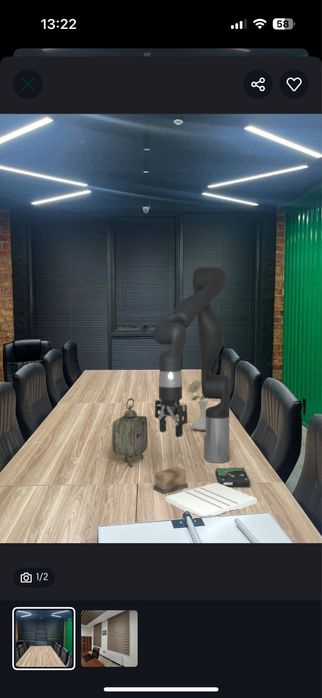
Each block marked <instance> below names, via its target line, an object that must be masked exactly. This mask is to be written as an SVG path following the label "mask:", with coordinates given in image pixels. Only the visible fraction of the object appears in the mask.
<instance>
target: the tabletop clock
mask: <svg viewBox="0 0 322 698" xmlns="http://www.w3.org/2000/svg"><path fill="white" fill-rule="evenodd" d="M130 401H132V405H128V403H129V402H130ZM125 403H126V404H125V407H126V409H127V410H125V412H124V413H123V416H121V417H119V418H118V419H116V420H114V421H113V422H112V425H111V428H112V429H111V439H112V440H111V441H112V443H111V445H112V446H111V447H112V452H113V453H114V454H115V455H118V456H123V457H124V456H125V457H124V458H123V459H122V460H123V462H124V463H126V462H129V463H128V466H129V467H131V468H132V467H133V466H134V462H132V457H134V458H135V457H139V458H140V460H143V459H144V458H145V455H143V454H144V453H145V451H146V450H147V448H148V432H149V431H148V417H147V416H144V415H137V412H136V411H135V410H134V409H133V408H134V405H135V400H134V398H132V397H130V398H128V399H126V402H125Z"/></svg>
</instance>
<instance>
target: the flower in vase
mask: <svg viewBox="0 0 322 698" xmlns="http://www.w3.org/2000/svg"><path fill="white" fill-rule="evenodd" d="M200 388H201V380H199V379H196V380H195V379H194V380H193V381H192V382H191V383H190V384H189V386H188V388H187V390H188V393H191V394H194V393H196V392H197V395H194V396H193V397H192V398H191V400H192V401H197V400H198V399H199V401H197V403H198V405H199V409H200V416H199V417H198V418H197V419H195V421H194V422H193V423H192V424H191V428H192V429H193V430H195V429H196V430H197V431H202V430H203V431H206V406H207V404H208V403H209V401H205V399H206V398H204V397H203V395H202V396H200V393H199V389H200ZM196 430H195V431H196Z"/></svg>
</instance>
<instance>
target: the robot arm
mask: <svg viewBox="0 0 322 698" xmlns="http://www.w3.org/2000/svg"><path fill="white" fill-rule="evenodd" d="M226 275H227V274H226V272H225V270H224V269H223V268H220V267H211V266H210V267H207V266H205V267H204V266H203V267H202V266H201V267H200V266H198V267H197V268H195V269H194V271H193V274H192V288H193V294H190V295H189V296H187V297H186V298H184V299H183V300H182V301H180V302H179V304H178V305H177V306H176V307H175V309H174V310H173V311H172V313H169V314H167V316H165V317H164V318H162V319H161V320H160V321H159V322H158V323H157V324H156V326H155V327H154V330H153V338H154V341H155V342H157V343H158V344H159V345H170V348H169V350H168V351H164V352H161V353H160V355H159V358H158V359H159V360H158V362H159V363H158V364H159V365H158V366H159V372H158V399H156V400H155V401H154V418H155V419H157V420H158V422H159V423H158V424H159V432H160V433H165V432H167V420H166V419H167V418H168V417H170V418H171V419H172V420H173V422H174V424H175V437H176V438H182V436H183V435H184V434H183V433H184V432H183V430H184V429H183V428H184V427H183V426H184V425H185V424H188V406H187V404H181V402H180V401H181V400H182V399H183V375H182V356H183V352H184V348H185V344H186V341H187V328H189V326H190V325H191V324H192V323H193V321H195V319H196V317H197V328H198V332H197V333H198V343H199V352H200V372H201V373H200V381H201V385H200V386H201V387H200V388H201V394H202V396H203V397H204V398H205V399H209V400H210V399H212V400H220V401H219V403H217V404H216V405H212V406H209V407H207V408H205V416H206V430H205V434H203V458H204V459H205V461H207V462H210V463H215V464H217V463H219V464H220V463H221V464H223V463H227V462H229V461H230V397H231V378H230V377H229V376H228V375H224V374H222V375H221V374H219V375H218V374H211V369H212V366H213V364H214V361H215V360H216V358H217V357H218V355H219V354H220V352H221V350H222V349H223V346H224V343H225V341H224V329H223V328H224V327H223V324H222V321H221V319H220V318H219V317H218V315H217V314H216V312H215V311H214V309H213V308H212V306H211V303H210V302H211V301H213V300H214V299H215V298H216V297H218V296H219V294H221V293H222V292H223V290H224V289H225V287H226V283H227V276H226Z"/></svg>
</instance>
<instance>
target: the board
mask: <svg viewBox="0 0 322 698" xmlns="http://www.w3.org/2000/svg"><path fill="white" fill-rule="evenodd" d="M164 501H165V502H166V503H168V504H170V505H171V506H173V507H176V508H177V509H180V510H182V511H184V512H186V511H190V512H192V513H195V514H198V515H199V516H207V515H213V516H214V515H217V514H221V513H223V512H225V511H229V510H235V511H237V510H236V509H238V510H240V509H243V508H247V507H251V506H253V505H257V504H258V498H256V497H255V496H252V495H249V494H246V493H244V492H241V491H239V490H237V489H235V488H229V487H227V486H224V485H222V484H219V483H218V482H214V483H210V484H207V485H202V486H199V487H195V488H191V489H188V490H185V491H181V492H177V493H173V494H170V495H166V496H165V498H164Z"/></svg>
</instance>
